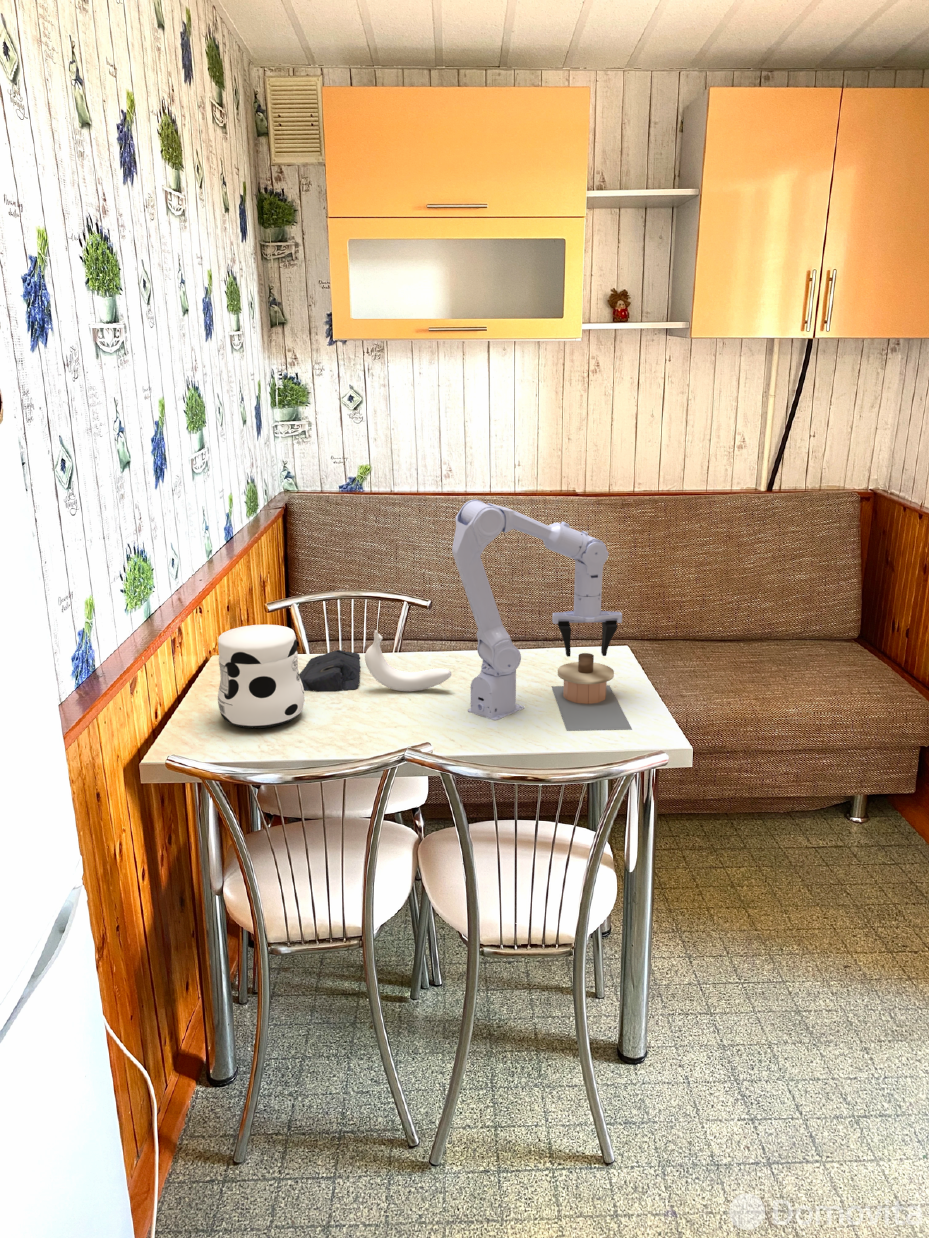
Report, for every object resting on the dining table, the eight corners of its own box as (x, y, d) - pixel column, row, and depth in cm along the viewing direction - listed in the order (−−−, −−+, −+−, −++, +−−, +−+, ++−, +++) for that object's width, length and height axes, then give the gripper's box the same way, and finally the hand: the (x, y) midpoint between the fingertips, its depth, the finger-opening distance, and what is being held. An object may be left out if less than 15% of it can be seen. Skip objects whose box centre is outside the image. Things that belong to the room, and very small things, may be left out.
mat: (632, 731, 183) (632, 729, 183) (566, 732, 183) (566, 730, 183) (609, 686, 207) (609, 685, 207) (551, 687, 207) (551, 686, 207)
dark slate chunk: (369, 661, 227) (369, 643, 225) (357, 694, 206) (356, 673, 204) (307, 661, 227) (306, 643, 226) (288, 693, 206) (287, 673, 205)
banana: (451, 695, 203) (450, 631, 199) (365, 695, 203) (362, 631, 199) (452, 687, 208) (451, 624, 204) (367, 687, 208) (364, 625, 204)
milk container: (320, 708, 196) (316, 627, 191) (277, 740, 181) (271, 652, 176) (249, 699, 202) (243, 619, 197) (202, 728, 186) (194, 643, 181)
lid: (592, 688, 191) (592, 668, 190) (546, 675, 199) (546, 656, 198) (624, 673, 200) (625, 654, 198) (579, 661, 207) (579, 643, 206)
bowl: (589, 706, 195) (590, 684, 193) (555, 696, 201) (555, 674, 199) (614, 695, 201) (614, 673, 200) (580, 685, 207) (580, 664, 206)
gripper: (555, 598, 190) (554, 661, 194) (626, 597, 191) (623, 660, 195) (551, 590, 197) (550, 650, 201) (619, 589, 198) (616, 649, 201)
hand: (585, 654), depth 198 cm, fingers open, 7 cm apart
